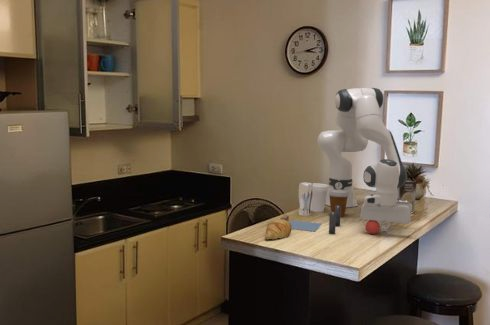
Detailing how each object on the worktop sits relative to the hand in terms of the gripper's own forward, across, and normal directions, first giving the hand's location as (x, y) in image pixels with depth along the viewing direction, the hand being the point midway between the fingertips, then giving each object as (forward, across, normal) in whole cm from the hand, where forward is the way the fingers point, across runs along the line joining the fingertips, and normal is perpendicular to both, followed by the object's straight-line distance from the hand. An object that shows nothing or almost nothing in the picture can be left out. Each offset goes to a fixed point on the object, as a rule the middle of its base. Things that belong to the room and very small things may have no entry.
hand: (384, 231), depth 214 cm
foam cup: (+2, +34, -32) cm, 47 cm away
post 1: (+1, +21, +7) cm, 22 cm away
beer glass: (+2, +38, -22) cm, 44 cm away
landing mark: (+1, +35, 0) cm, 35 cm away
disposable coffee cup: (+2, +23, -26) cm, 35 cm away
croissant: (+2, +41, +18) cm, 45 cm away
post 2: (+1, +20, -6) cm, 22 cm away
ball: (-2, +5, 0) cm, 5 cm away
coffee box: (+2, -6, -45) cm, 46 cm away
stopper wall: (+1, +44, 0) cm, 44 cm away
